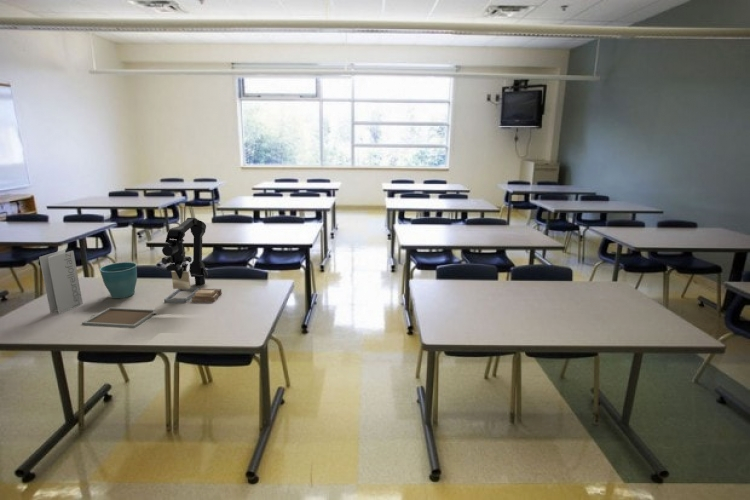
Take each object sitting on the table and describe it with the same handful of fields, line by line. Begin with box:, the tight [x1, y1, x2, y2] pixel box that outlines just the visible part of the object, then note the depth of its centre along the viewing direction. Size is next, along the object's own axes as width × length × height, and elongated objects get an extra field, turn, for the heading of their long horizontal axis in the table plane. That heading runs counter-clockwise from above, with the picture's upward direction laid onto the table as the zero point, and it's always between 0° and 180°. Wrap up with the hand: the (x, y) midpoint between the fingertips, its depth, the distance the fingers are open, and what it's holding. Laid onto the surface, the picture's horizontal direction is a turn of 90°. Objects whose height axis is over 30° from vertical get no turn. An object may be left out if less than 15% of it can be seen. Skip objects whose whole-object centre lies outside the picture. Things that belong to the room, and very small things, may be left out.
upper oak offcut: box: [195, 290, 215, 297], centre depth 234 cm, size 4×9×2 cm, turn 90°
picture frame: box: [81, 307, 157, 328], centre depth 214 cm, size 19×2×30 cm
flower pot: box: [99, 261, 138, 299], centre depth 242 cm, size 18×18×17 cm
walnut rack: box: [191, 288, 222, 303], centre depth 238 cm, size 12×12×4 cm
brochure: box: [38, 249, 83, 315], centre depth 221 cm, size 14×6×30 cm, turn 168°
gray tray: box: [163, 287, 201, 303], centre depth 240 cm, size 19×12×3 cm, turn 0°
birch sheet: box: [170, 270, 192, 290], centre depth 237 cm, size 2×9×10 cm, turn 90°
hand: (181, 278), depth 237 cm, fingers closed on birch sheet, 1 cm apart
